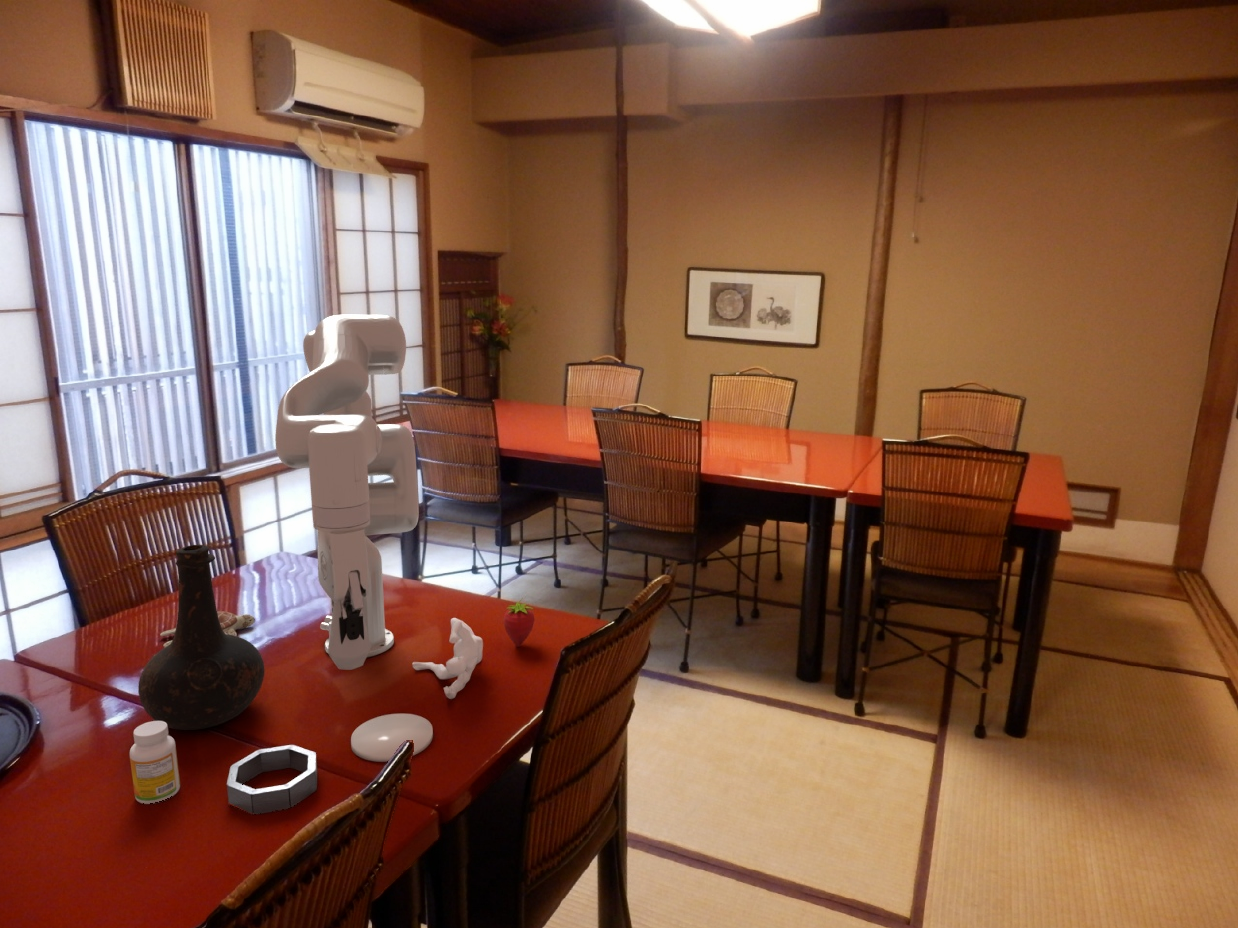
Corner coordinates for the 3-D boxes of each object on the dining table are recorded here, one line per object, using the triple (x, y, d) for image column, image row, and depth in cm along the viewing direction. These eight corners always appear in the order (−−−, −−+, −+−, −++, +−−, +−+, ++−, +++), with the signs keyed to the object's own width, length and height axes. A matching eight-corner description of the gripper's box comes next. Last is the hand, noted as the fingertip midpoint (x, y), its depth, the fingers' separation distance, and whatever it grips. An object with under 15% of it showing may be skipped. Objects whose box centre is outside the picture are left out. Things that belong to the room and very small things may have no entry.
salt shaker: (378, 663, 119) (374, 578, 116) (342, 676, 115) (336, 589, 112) (357, 650, 123) (353, 568, 120) (321, 663, 119) (315, 578, 116)
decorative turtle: (265, 644, 159) (263, 619, 158) (168, 665, 150) (165, 639, 149) (247, 612, 174) (244, 590, 173) (157, 630, 165) (154, 606, 164)
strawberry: (535, 637, 163) (534, 589, 161) (534, 654, 156) (533, 604, 154) (505, 638, 163) (504, 590, 160) (502, 655, 155) (501, 604, 153)
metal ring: (212, 798, 111) (210, 778, 111) (277, 757, 121) (276, 738, 120) (270, 821, 107) (269, 801, 106) (334, 777, 116) (332, 758, 116)
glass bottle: (141, 757, 121) (119, 575, 115) (145, 702, 136) (125, 539, 130) (272, 728, 129) (258, 557, 123) (262, 680, 144) (249, 526, 138)
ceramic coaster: (333, 748, 123) (333, 742, 123) (388, 712, 134) (388, 706, 134) (396, 769, 118) (396, 763, 118) (448, 730, 129) (448, 724, 129)
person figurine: (414, 607, 149) (452, 624, 134) (479, 608, 156) (522, 625, 142) (406, 680, 149) (444, 705, 134) (471, 678, 156) (514, 702, 141)
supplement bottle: (146, 781, 115) (138, 718, 113) (187, 780, 115) (180, 716, 113) (127, 805, 109) (118, 739, 107) (169, 804, 110) (162, 738, 108)
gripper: (300, 503, 119) (308, 622, 123) (328, 534, 105) (336, 666, 110) (352, 496, 123) (359, 611, 127) (386, 525, 109) (392, 653, 114)
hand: (348, 636), depth 118 cm, fingers closed on salt shaker, 3 cm apart
